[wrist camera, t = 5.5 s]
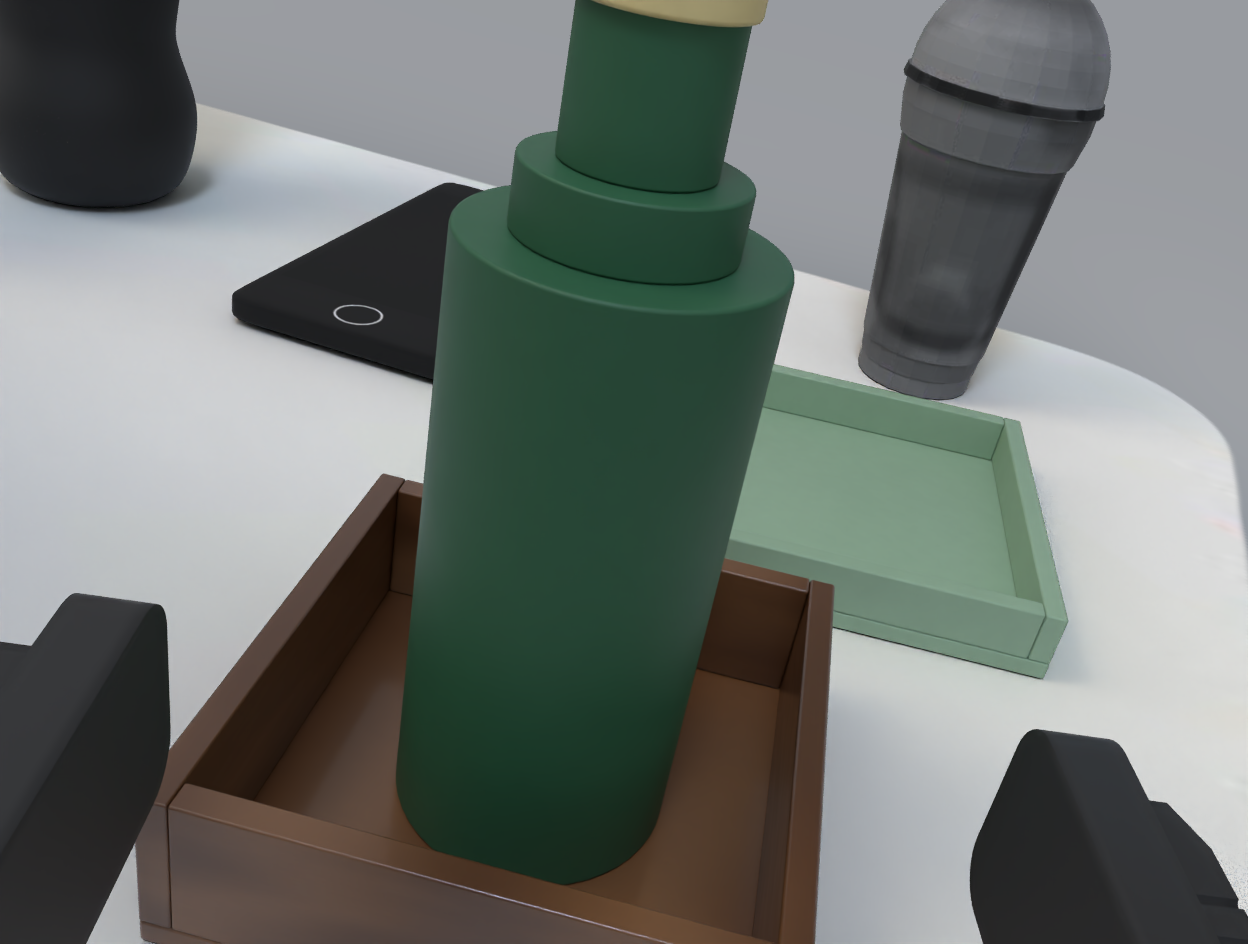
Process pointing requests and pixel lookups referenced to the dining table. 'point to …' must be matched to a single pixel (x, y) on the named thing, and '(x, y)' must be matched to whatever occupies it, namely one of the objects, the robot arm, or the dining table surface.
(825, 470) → the tray
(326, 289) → the cell phone
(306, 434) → the dining table surface
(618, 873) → the crate
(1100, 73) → the beverage cup
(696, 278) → the green bottle
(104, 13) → the cola bottle
